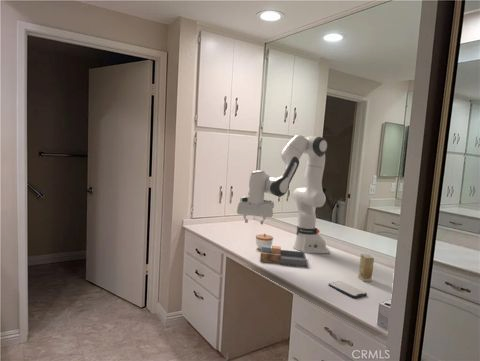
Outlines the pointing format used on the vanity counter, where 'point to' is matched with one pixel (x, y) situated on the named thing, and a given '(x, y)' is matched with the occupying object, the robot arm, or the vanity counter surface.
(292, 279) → the vanity counter surface
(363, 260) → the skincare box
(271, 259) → the cardboard box
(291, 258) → the tray
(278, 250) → the tile
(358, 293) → the phone case
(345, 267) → the vanity counter surface
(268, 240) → the lidded jar
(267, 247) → the tile
